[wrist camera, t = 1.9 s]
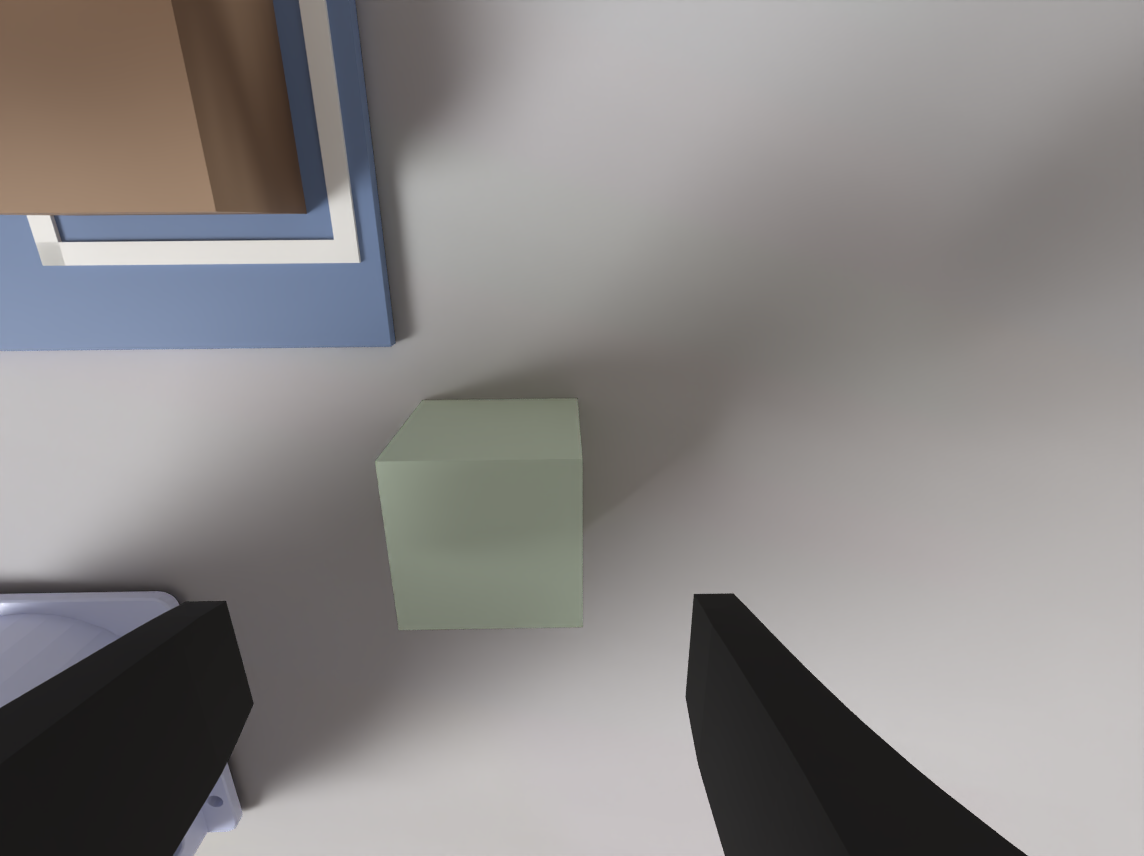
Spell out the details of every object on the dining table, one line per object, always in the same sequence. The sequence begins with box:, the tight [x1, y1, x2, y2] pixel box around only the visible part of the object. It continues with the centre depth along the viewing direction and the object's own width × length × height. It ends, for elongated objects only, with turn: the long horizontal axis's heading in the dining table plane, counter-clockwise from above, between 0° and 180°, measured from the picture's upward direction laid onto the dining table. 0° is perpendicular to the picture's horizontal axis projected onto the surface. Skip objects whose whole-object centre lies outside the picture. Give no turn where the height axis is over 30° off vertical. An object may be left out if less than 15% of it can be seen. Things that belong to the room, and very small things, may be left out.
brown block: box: [0, 0, 307, 216], centre depth 10 cm, size 5×5×4 cm
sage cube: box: [375, 398, 583, 630], centre depth 13 cm, size 4×4×4 cm
